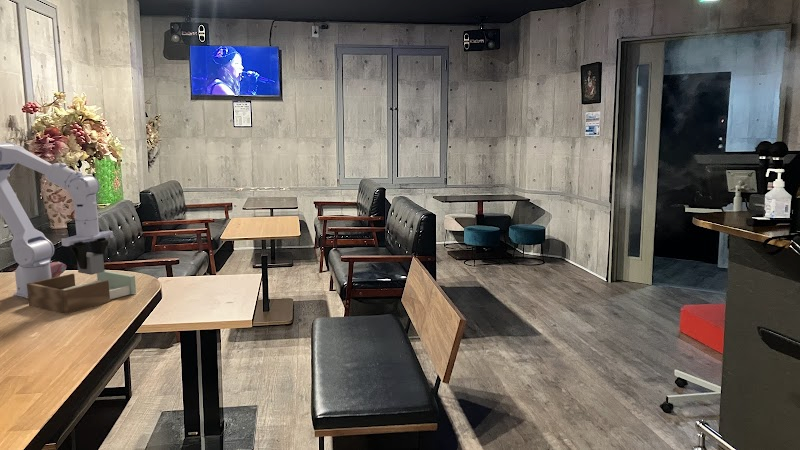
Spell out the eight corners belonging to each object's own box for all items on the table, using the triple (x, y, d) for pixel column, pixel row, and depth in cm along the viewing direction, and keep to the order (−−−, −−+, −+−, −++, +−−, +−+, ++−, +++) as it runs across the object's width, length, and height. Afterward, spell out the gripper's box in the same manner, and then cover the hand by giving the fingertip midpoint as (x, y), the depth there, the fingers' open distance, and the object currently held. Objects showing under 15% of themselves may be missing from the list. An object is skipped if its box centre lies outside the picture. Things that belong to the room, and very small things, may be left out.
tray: (59, 297, 177) (57, 279, 176) (105, 285, 190) (104, 268, 189) (93, 305, 170) (92, 286, 169) (139, 292, 182) (137, 274, 181)
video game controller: (41, 289, 192) (48, 269, 191) (29, 282, 193) (36, 262, 191) (64, 281, 202) (71, 262, 200) (52, 274, 202) (59, 255, 201)
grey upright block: (91, 274, 175) (89, 257, 174) (78, 272, 178) (76, 255, 177) (104, 271, 179) (103, 254, 178) (91, 269, 181) (89, 252, 181)
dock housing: (28, 305, 170) (26, 283, 169) (74, 293, 182) (72, 273, 181) (64, 314, 162) (62, 291, 162) (110, 301, 174) (108, 280, 173)
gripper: (71, 224, 168) (75, 273, 170) (118, 216, 180) (122, 263, 182) (55, 222, 171) (59, 271, 173) (102, 215, 183) (106, 260, 186)
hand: (90, 266), depth 178 cm, fingers closed on grey upright block, 4 cm apart
